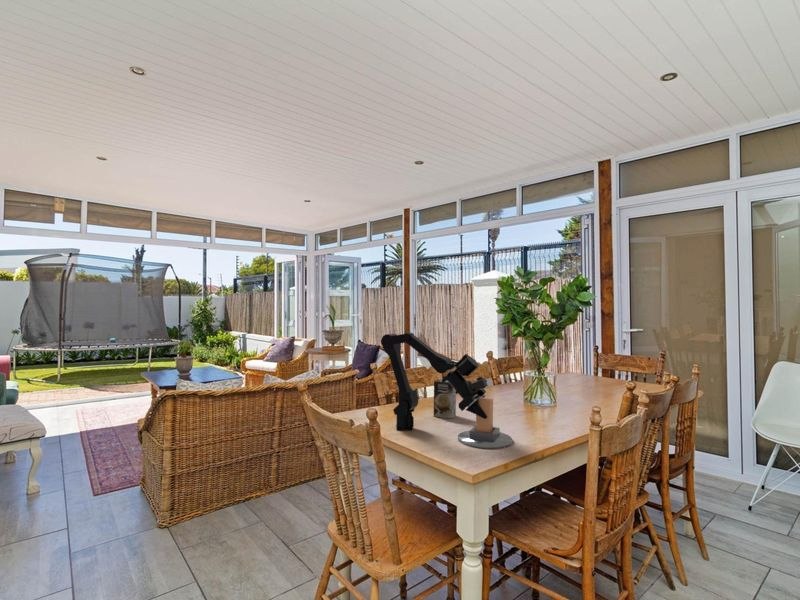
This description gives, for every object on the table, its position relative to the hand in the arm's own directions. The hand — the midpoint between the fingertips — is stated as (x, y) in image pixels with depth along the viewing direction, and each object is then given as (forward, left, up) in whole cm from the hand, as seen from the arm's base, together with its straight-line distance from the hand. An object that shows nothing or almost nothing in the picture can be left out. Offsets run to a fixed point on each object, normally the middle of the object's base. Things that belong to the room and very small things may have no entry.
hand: (488, 416), depth 161 cm
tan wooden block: (-1, +1, -7) cm, 7 cm away
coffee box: (-10, +37, -9) cm, 39 cm away
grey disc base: (-1, +1, -9) cm, 9 cm away
